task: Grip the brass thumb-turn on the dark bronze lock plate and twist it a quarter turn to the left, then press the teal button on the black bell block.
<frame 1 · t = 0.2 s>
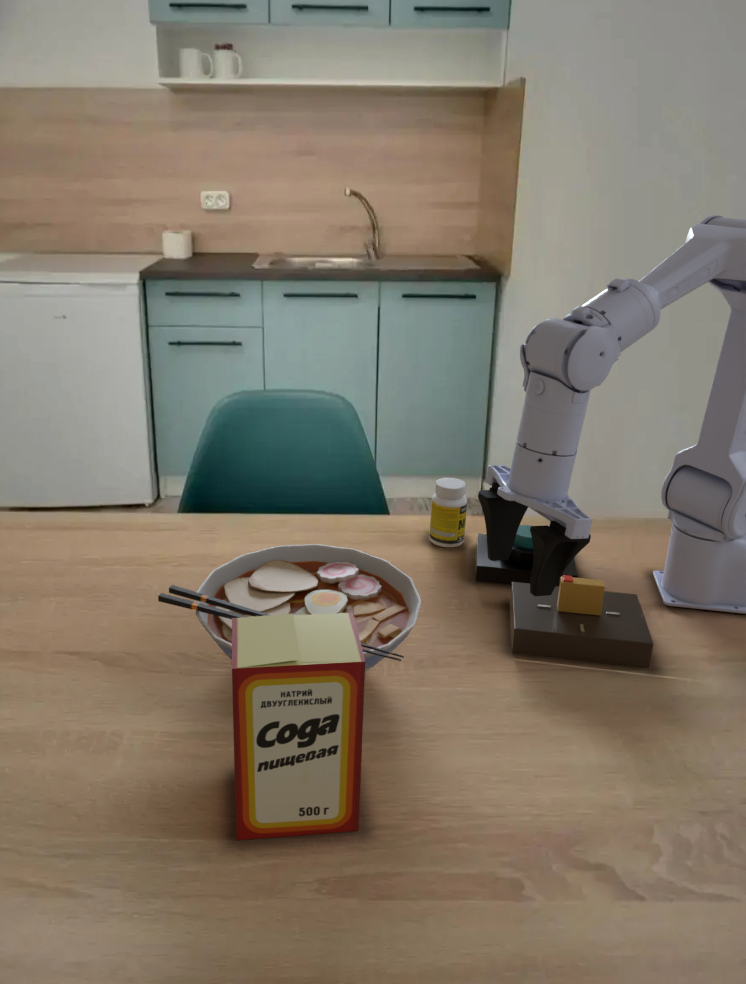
hand: (518, 576, 83), 10 cm above the table, tool pointing down, fingers open, 7 cm apart
ramen bowl: (307, 658, 86), on the table
bell block: (523, 568, 105), on the table
bell button: (527, 537, 104), point 4 cm above the table, slide at 0.1 cm
lock plate: (574, 634, 91), on the table
lock knob: (580, 594, 90), point 5 cm above the table, hinge at 0.0°
supplement bottle: (446, 541, 112), on the table
baking soda box: (294, 805, 67), on the table
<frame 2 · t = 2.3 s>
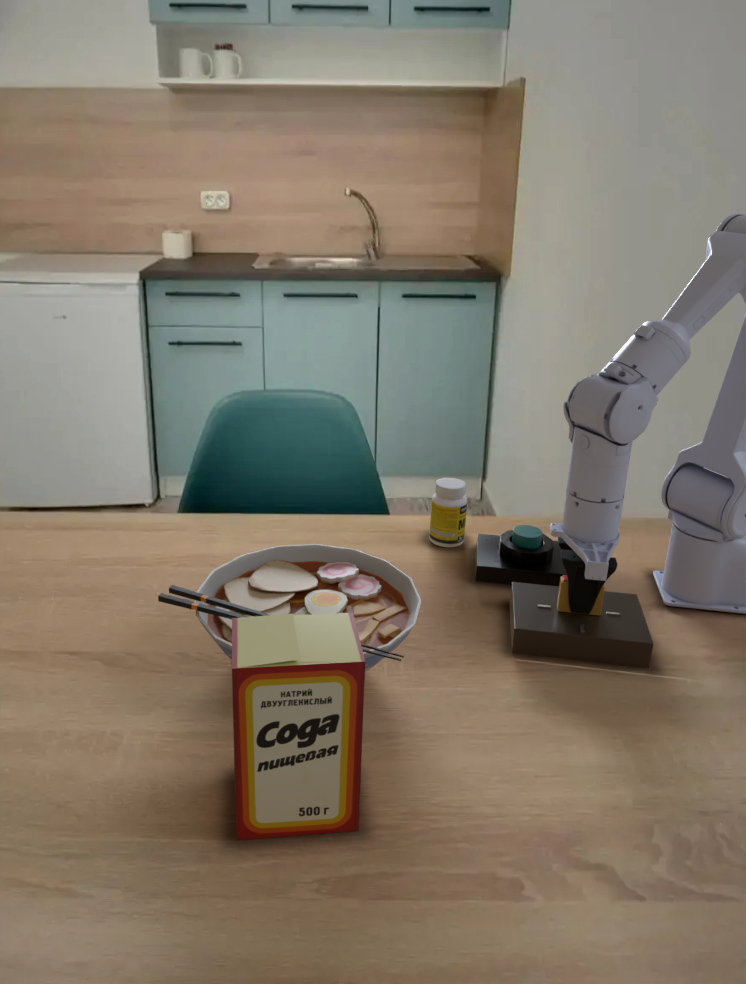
hand: (578, 606, 90), 4 cm above the table, tool pointing down, fingers closed on lock knob
lock knob: (580, 594, 90), point 5 cm above the table, hinge at -0.1°, touching gripper
everything else where it was.
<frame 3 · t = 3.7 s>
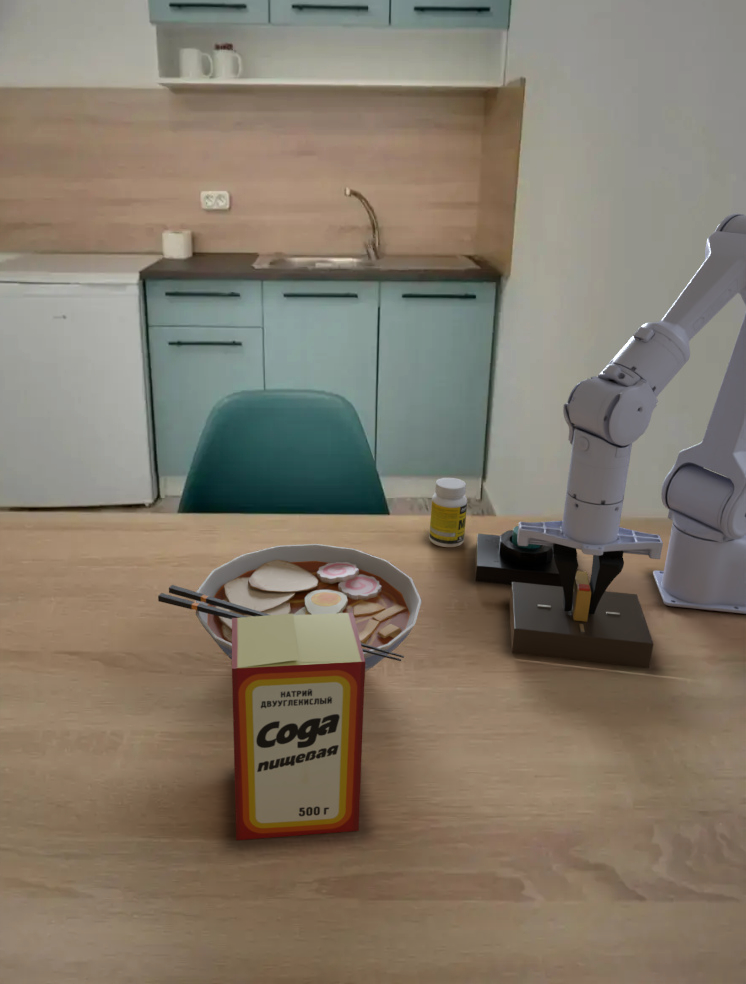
hand: (578, 608, 90), 3 cm above the table, tool pointing down, fingers closed
lock knob: (580, 594, 90), point 5 cm above the table, hinge at 89.5°
everything else where it was.
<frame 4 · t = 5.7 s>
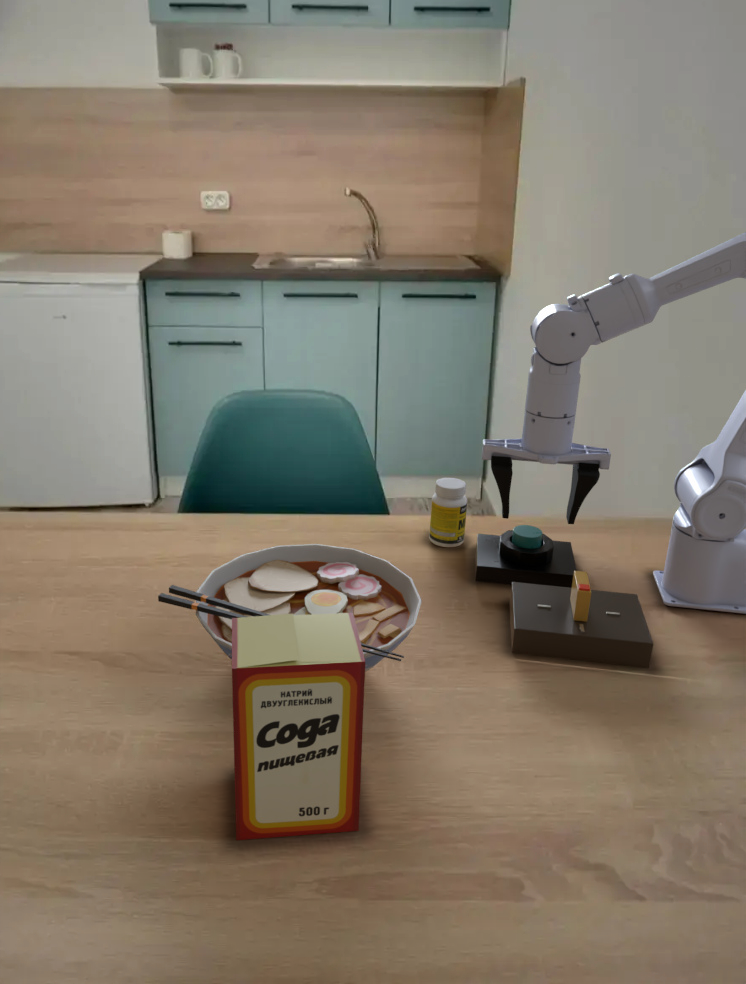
hand: (537, 517, 100), 8 cm above the table, tool pointing down, fingers open, 7 cm apart
nothing on the table moved.
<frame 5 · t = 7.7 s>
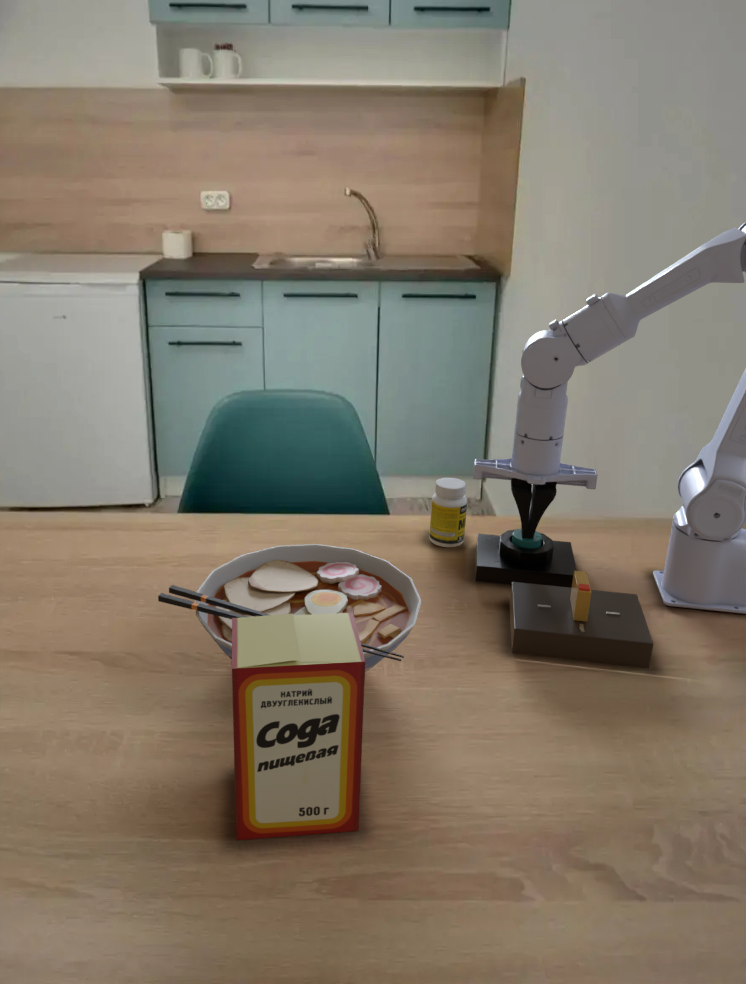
hand: (527, 535, 103), 5 cm above the table, tool pointing down, fingers closed, pressing on bell button
bell button: (526, 541, 104), point 4 cm above the table, slide at -0.5 cm, touching gripper
everything else where it was.
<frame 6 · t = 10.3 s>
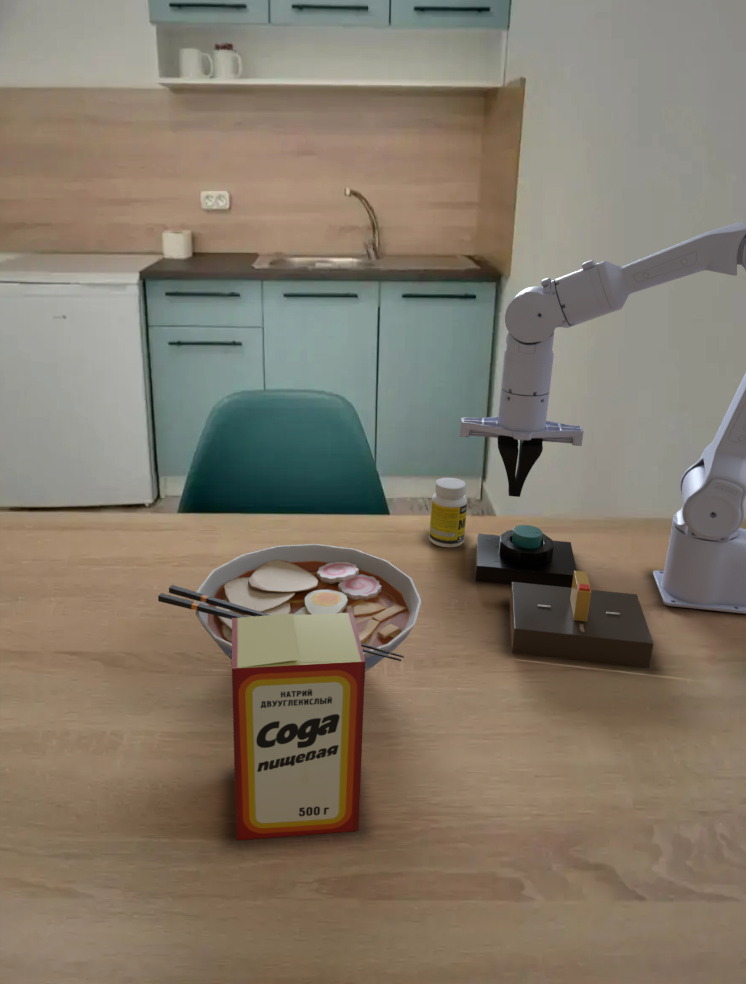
hand: (514, 493, 104), 9 cm above the table, tool pointing down, fingers closed
bell button: (527, 537, 104), point 4 cm above the table, slide at 0.1 cm
everything else where it was.
at the end: lock knob at +90° (first picture: +0°); bell button pushed in 1.2 cm at the most during the clip, back to where it started at the end; bell button slide at 0.1 cm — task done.
